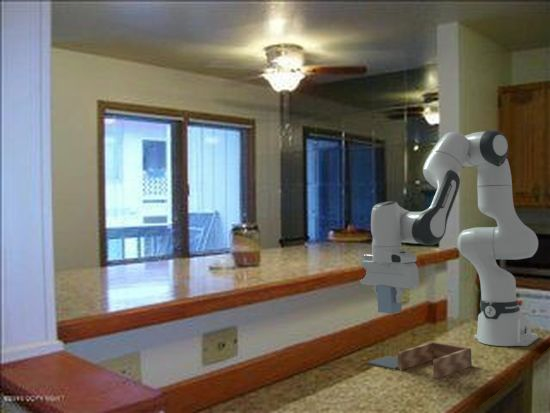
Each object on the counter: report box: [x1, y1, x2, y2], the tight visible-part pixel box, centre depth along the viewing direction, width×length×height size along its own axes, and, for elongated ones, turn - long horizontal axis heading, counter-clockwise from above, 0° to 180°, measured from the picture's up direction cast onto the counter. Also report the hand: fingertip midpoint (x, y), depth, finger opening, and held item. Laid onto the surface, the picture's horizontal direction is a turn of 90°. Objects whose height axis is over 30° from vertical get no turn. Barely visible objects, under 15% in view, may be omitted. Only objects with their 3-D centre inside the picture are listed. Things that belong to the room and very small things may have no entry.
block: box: [376, 285, 403, 315], centre depth 171 cm, size 5×5×8 cm
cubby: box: [396, 341, 473, 380], centre depth 164 cm, size 17×13×5 cm
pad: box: [366, 355, 398, 370], centre depth 170 cm, size 10×10×1 cm
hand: (388, 301), depth 171 cm, fingers closed on block, 5 cm apart
